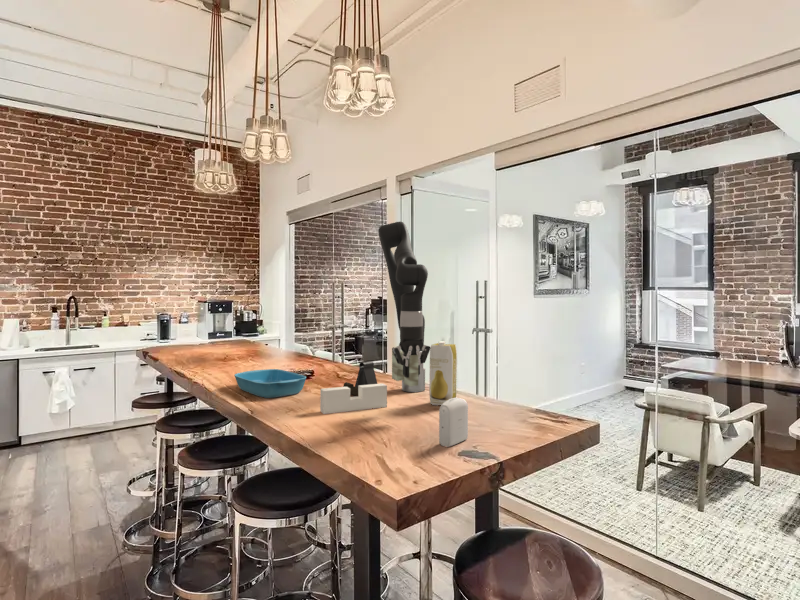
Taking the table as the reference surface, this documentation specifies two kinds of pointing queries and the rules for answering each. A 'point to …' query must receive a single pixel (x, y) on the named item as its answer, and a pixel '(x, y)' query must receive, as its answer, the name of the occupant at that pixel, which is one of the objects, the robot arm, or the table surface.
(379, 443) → the table surface
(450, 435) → the photo printer
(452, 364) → the juice carton
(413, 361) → the slotted plate
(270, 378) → the casserole dish
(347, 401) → the slotted beam
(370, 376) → the phone stand
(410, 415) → the table surface
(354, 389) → the hand tool
